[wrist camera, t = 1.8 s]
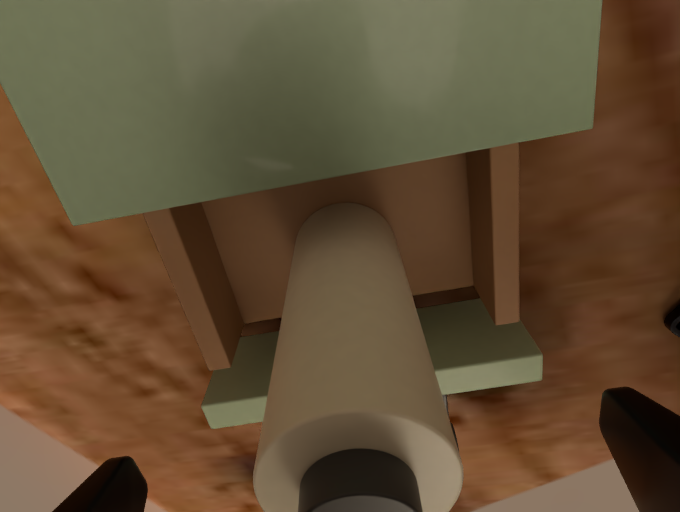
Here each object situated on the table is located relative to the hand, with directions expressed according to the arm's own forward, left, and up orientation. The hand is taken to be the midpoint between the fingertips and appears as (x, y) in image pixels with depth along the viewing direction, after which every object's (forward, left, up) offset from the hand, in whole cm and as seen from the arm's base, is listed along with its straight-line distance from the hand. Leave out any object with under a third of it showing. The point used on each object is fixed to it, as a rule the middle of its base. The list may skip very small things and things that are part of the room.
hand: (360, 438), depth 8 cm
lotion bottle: (0, 0, -8) cm, 8 cm away
